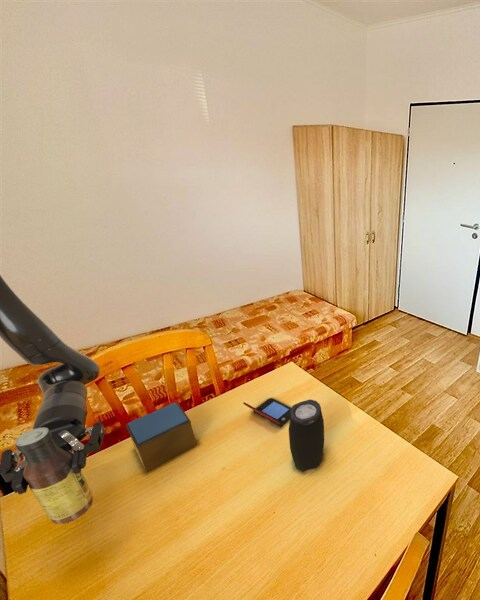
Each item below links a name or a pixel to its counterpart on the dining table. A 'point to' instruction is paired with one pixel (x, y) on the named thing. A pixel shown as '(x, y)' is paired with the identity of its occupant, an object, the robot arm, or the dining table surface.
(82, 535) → the dining table surface
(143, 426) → the mat
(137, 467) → the dining table surface
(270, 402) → the handheld console
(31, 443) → the sauce bottle
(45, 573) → the dining table surface
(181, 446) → the blue topped brown block
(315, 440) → the portable speaker
